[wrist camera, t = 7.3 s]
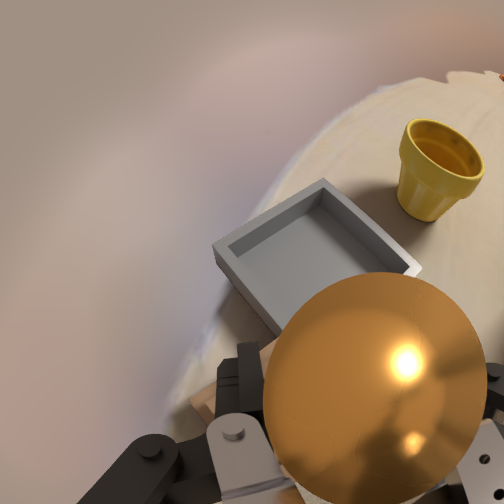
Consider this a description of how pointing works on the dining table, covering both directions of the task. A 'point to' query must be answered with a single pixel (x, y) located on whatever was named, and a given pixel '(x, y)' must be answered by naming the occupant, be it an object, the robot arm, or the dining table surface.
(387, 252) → the tray
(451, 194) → the plant pot
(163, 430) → the dining table surface
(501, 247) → the dining table surface
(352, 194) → the dining table surface
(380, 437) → the gold-capped glass canister
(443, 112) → the dining table surface
